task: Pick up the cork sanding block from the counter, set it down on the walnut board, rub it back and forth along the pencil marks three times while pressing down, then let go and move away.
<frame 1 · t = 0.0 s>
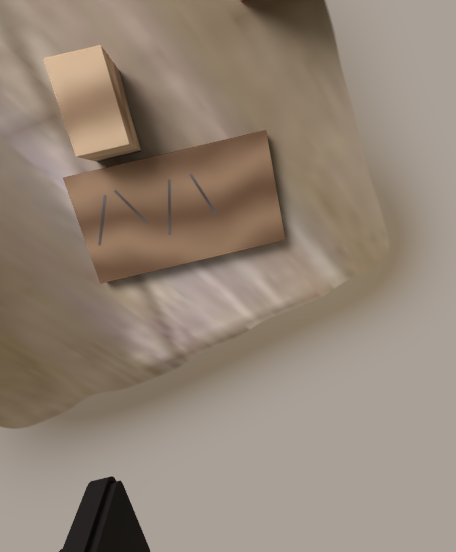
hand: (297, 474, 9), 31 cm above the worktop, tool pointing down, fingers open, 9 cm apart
sanding block: (107, 117, 34), on the worktop
board: (180, 209, 37), on the worktop
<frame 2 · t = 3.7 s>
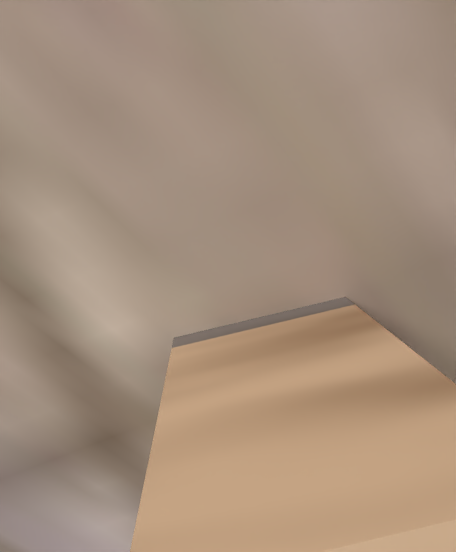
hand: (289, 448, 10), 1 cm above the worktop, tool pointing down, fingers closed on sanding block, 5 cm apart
sanding block: (283, 430, 10), on the worktop, touching gripper
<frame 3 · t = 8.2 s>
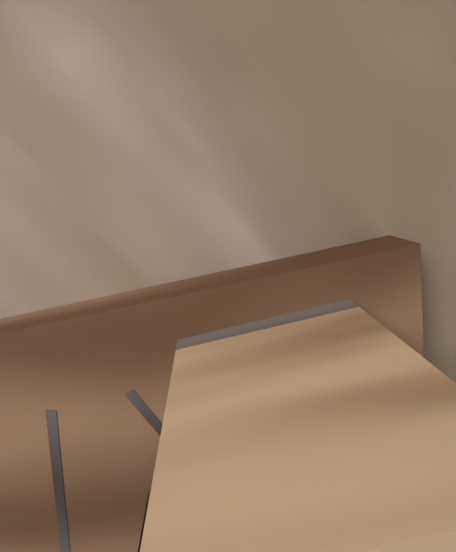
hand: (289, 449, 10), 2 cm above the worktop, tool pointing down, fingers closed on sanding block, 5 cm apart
sanding block: (287, 432, 10), point 2 cm above the worktop, touching board, gripper
board: (108, 457, 12), on the worktop
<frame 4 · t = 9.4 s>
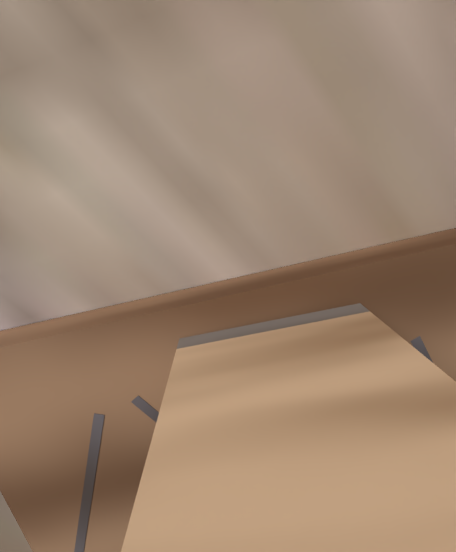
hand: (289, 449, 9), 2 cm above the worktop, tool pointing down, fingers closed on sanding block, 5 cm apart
sanding block: (290, 440, 10), point 2 cm above the worktop, touching gripper
board: (337, 416, 12), on the worktop
when the fingers open (2 cm above the worktop, at t = 16.5 s): sanding block stays where it is, resting on board.
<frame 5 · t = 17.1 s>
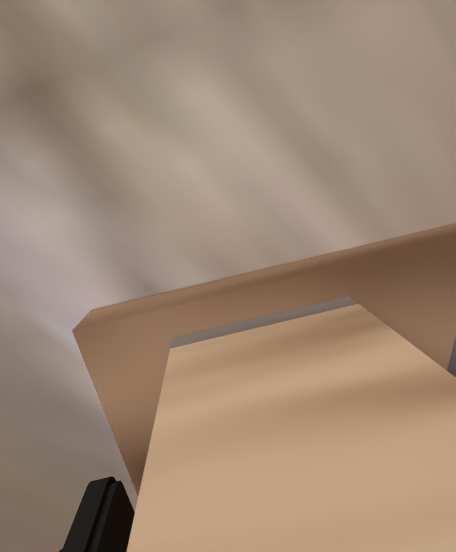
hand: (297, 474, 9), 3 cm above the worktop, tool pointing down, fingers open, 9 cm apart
sanding block: (285, 433, 10), point 2 cm above the worktop, touching board
board: (439, 388, 12), on the worktop
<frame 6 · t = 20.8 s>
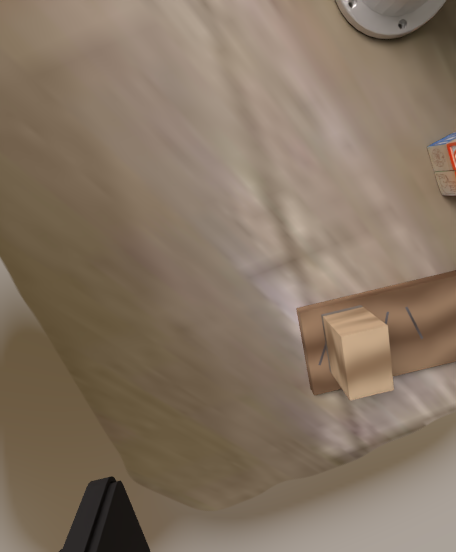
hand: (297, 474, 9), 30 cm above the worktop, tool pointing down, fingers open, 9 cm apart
sanding block: (344, 338, 40), point 2 cm above the worktop, touching board
board: (385, 330, 42), on the worktop
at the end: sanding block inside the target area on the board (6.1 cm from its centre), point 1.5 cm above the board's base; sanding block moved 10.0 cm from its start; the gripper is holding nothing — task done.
